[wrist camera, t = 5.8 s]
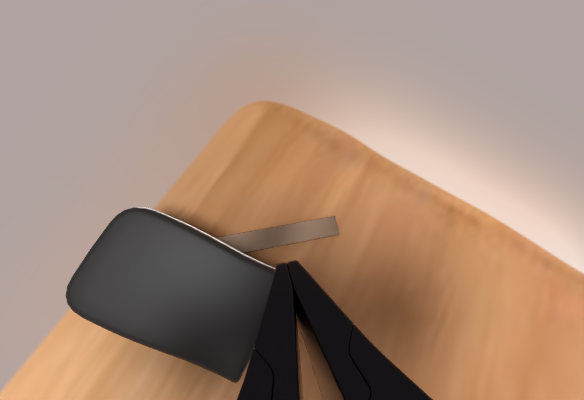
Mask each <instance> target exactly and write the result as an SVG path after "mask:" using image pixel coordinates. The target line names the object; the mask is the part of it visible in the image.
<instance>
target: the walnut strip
mask: <svg viewBox="0 0 584 400" xmlns="http://www.w3.org/2000/svg"><path fill="white" fill-rule="evenodd" d="M334 235H339V231H338V227H337V222H336V218H335V216H333V217H327V218H322V219H316V220H311V221H305V222H300V223H294V224H289V225H283V226H278V227H272V228H266V229H261V230H255V231H250V232H244V233H239V234H233V235H228V236H222V237H217V238H216V239H218V240H220V241H222V242H224V243H226V244H228V245H229V246H231V247H233V248H235V249H236V250H238V251H240V252H242V253H245V252H251V251H256V250H261V249H266V248H271V247H277V246H282V245H287V244H292V243H298V242H303V241H308V240H313V239H318V238H324V237H329V236H334Z"/></svg>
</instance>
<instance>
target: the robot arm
mask: <svg viewBox="0 0 584 400" xmlns="http://www.w3.org/2000/svg"><path fill="white" fill-rule="evenodd" d="M296 316H297V318H296ZM297 320H298V323H299V326H300V329H301V332H302V336H303V339H304V342H305V345H306V348H307V351H308V354H309V357H310V360H311V363H312V366H313V370H314V373H315V376H316V379H317V382H318V385H319V388H320V391H321V394H322V397H323V400H433V399H432V398H430V397H429V396H428V395H427V394H426V393H425V392H424V391H423V390H421V389H420V388H419V387H418V386H417V385H416V384H415V383H414V382H413V381H412V380H410V379H409V378H408V377H407V376H406V375H405V374H404V373H403V372H402V371H401V370H400V369H398V368H397V367H396V366H395V365H394V364H393V363H392V362H391V361H390V360H389V359H388V358H386V357H385V356H384V355H383V354H382V353H381V352H380V351H379V350H378V349H377V348H376V347H375V346H374V345H373V344H372V343H371V342H370V341H369V340H368V339H367V338H366V337H365V335H364V334H363V333H362V332H361V331H360V330H359V329H358V328H357V327H356V326H355V325H353V322H352V321H351V320H350V319H349V318H348V317H347V316H346V315H345V313H344V312H343V311H342V310H341V309H340V308H339V307H338V306H337V304H336V303H335V302H334V301H333V300H332V299H331V298H330V297H329V296H328V294H327V293H326V292H325V291H324V290H323V289H322V288H321V287H320V286H319V284H318V283H317V282H316V281H315V280H314V279H313V278H312V277H311V275H310V274H309V273H308V272H307V271H306V270H305V269H304V268H303V267H302V265H301V264H300V263H299V262H298V261H290V262H288V263H280V264H277V266H276V269H275V272H274V276H273V280H272V283H271V287H270V291H269V294H268V298H267V301H266V305H265V309H264V312H263V316H262V320H261V323H260V327H259V331H258V334H257V338H256V341H255V345H254V349H253V352H252V356H251V359H250V363H249V366H248V369H247V372H246V376H245V379H244V382H243V385H242V388H241V390H240V393H239V396H238V399H237V400H303V391H302V379H301V366H300V354H299V341H298V329H297Z"/></svg>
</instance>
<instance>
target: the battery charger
mask: <svg viewBox="0 0 584 400" xmlns="http://www.w3.org/2000/svg"><path fill="white" fill-rule="evenodd" d="M275 269H276V268H274V267H272V266H269V265H267V264H265V263H263V262H260V261H258V260H256V259H254V258H252V257H250V256H248V255H246V254H244V253H242V252H240V251H238V250H236V249H235V248H233V247H231V246H229V245H228V244H226V243H224V242H222V241H220V240H218V239H216V238H215V237H213V236H211V235H209V234H207V233H205V232H203V231H201V230H199V229H197V228H195V227H193V226H191V225H189V224H187V223H185V222H183V221H180V220H178V219H176V218H174V217H171V216H169V215H167V214H164V213H162V212H160V211H157V210H154V209H151V208H147V207H136V208H131V209H127V210H124V211H123V212H121V213H119V214H118V215H117V216H116V217H115V218H114V219H113V220H112V221H111V222H110V223H109V225H108V226H107V227H106V229H105V230H104V231H103V233H102V234H101V236H100V237H99V238H98V240H97V241H96V243H95V244H94V245H93V247H92V248H91V249H90V251H89V252H88V254H87V255H86V257H85V258H84V260H83V261H82V263H81V264H80V266H79V268H78V269H77V270H76V272H75V273H74V275H73V277H72V278H71V280H70V282H69V284H68V286H67V292H66V298H67V303H68V305H69V306H70V307H71V309H72V310H73V311H74V312H75V313H77V314H78V315H80V316H81V317H83V318H84V319H86V320H88V321H90V322H92V323H94V324H96V325H99V326H101V327H103V328H105V329H107V330H109V331H111V332H113V333H116V334H118V335H120V336H122V337H125V338H127V339H130V340H132V341H134V342H137V343H140V344H142V345H145V346H147V347H150V348H153V349H155V350H158V351H161V352H163V353H166V354H169V355H172V356H175V357H177V358H180V359H183V360H186V361H188V362H191V363H193V364H196V365H198V366H200V367H202V368H204V369H206V370H209V371H211V372H214V373H216V374H218V375H220V376H222V377H224V378H226V379H228V380H230V381H232V382H235V383H236V382H238V381H239V380H240V378H241V376H242V375H243V373H244V371H245V369H246V367H247V365H248V363H249V361H250V359H251V356H252V352H253V349H254V345H255V341H256V338H257V334H258V331H259V327H260V323H261V320H262V316H263V312H264V309H265V305H266V301H267V298H268V294H269V291H270V287H271V283H272V280H273V276H274V272H275Z"/></svg>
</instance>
